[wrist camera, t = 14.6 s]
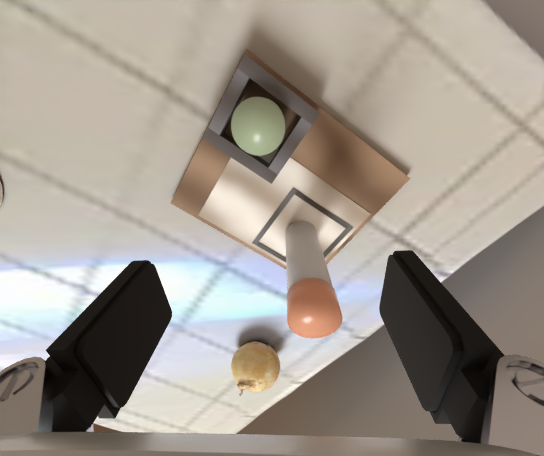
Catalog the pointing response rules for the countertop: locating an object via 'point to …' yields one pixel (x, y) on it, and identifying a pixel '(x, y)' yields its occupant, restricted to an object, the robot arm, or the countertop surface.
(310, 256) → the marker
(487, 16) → the countertop surface
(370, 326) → the countertop surface
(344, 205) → the board
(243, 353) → the onion
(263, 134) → the button
